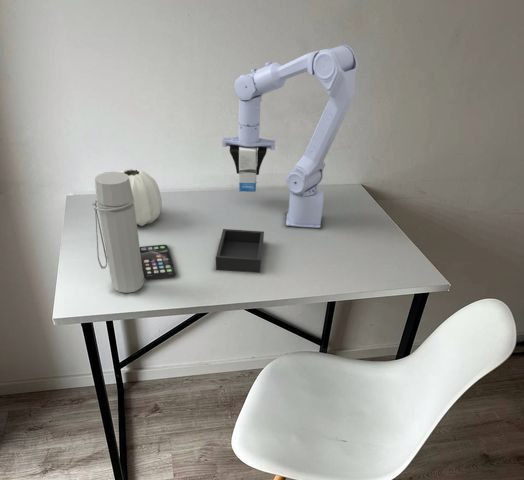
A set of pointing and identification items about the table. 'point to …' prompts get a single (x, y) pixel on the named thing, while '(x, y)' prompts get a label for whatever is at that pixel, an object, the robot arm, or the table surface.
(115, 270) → the water bottle
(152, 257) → the smartphone
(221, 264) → the tray
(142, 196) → the vase
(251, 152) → the ink box
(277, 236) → the table surface
